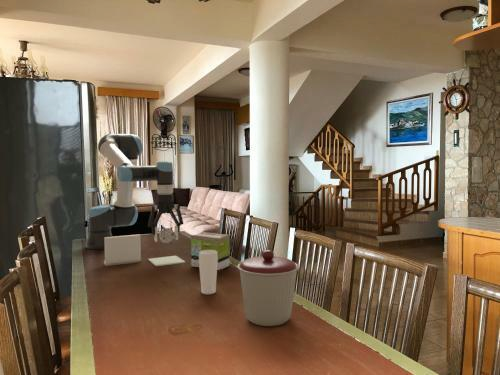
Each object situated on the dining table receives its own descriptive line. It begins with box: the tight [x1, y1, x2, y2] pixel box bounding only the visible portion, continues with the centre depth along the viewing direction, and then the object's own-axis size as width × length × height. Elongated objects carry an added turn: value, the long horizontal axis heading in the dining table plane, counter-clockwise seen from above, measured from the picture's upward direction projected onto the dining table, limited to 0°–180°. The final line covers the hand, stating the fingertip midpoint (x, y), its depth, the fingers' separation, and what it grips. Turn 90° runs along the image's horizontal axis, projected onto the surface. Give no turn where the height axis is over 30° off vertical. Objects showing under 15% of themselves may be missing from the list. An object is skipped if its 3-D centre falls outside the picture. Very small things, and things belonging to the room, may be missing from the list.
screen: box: [103, 233, 142, 267], centre depth 187 cm, size 6×16×13 cm, turn 118°
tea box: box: [190, 231, 230, 271], centre depth 180 cm, size 15×10×15 cm
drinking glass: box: [198, 250, 218, 295], centre depth 143 cm, size 7×7×15 cm
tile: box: [147, 255, 186, 267], centre depth 190 cm, size 14×14×1 cm
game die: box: [157, 226, 176, 245], centre depth 189 cm, size 9×8×10 cm
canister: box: [237, 249, 299, 327], centre depth 117 cm, size 18×18×21 cm
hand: (166, 240), depth 189 cm, fingers closed on game die, 9 cm apart
